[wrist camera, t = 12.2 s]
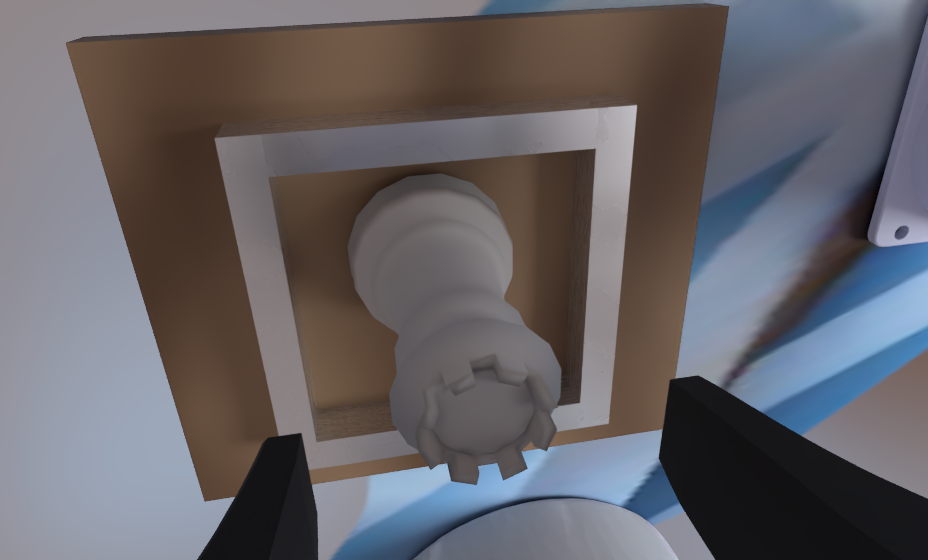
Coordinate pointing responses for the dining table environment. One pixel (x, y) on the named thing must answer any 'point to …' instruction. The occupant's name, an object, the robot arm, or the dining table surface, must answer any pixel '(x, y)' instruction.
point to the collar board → (382, 164)
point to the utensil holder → (553, 534)
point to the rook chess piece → (454, 326)
